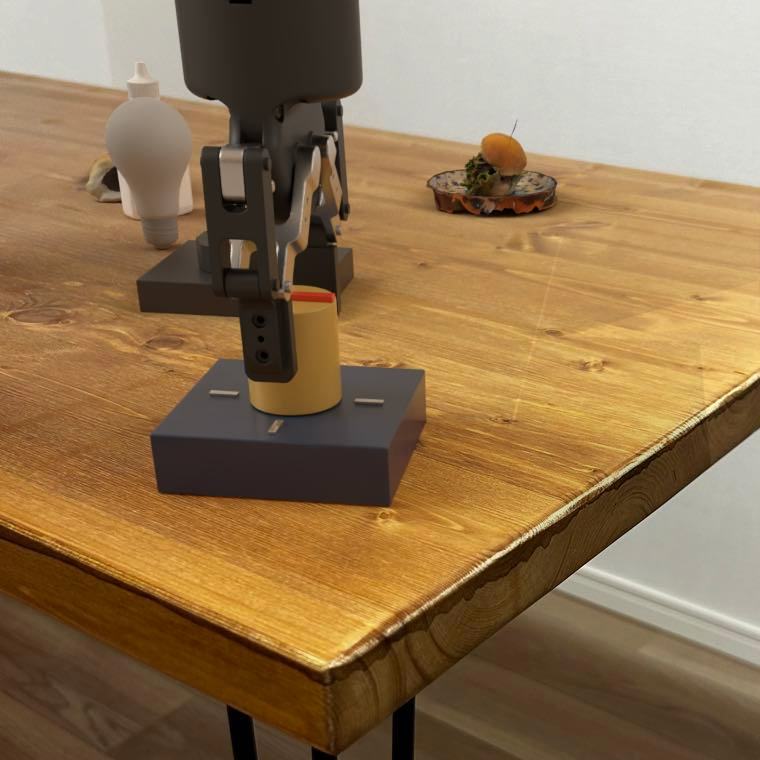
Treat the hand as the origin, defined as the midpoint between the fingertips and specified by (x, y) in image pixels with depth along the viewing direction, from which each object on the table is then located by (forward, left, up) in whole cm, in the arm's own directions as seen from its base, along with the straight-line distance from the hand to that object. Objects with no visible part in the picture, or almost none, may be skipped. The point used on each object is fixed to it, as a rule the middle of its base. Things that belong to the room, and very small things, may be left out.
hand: (297, 347), depth 57 cm
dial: (0, 0, -3) cm, 3 cm away
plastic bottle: (-24, +45, -6) cm, 51 cm away
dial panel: (0, 0, -6) cm, 6 cm away
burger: (+3, +55, -6) cm, 55 cm away
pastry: (-29, +52, -6) cm, 60 cm away
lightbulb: (-20, +35, -6) cm, 41 cm away
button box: (-10, +25, -6) cm, 28 cm away
